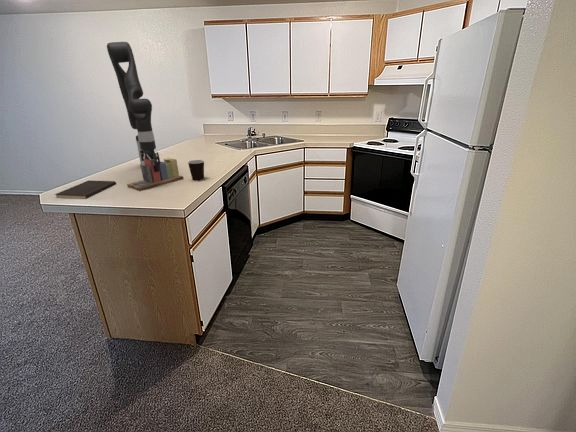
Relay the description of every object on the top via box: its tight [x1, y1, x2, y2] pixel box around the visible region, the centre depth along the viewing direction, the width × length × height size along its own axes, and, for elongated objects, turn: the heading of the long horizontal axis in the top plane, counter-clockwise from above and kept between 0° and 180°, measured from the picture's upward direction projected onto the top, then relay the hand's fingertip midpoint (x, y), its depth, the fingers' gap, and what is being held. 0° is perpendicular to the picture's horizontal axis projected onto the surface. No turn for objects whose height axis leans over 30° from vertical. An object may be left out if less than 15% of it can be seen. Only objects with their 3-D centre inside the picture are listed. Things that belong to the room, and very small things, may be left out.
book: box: [144, 158, 161, 183], centre depth 165 cm, size 6×4×12 cm, turn 53°
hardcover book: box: [54, 180, 117, 200], centre depth 157 cm, size 16×23×2 cm
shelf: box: [126, 157, 184, 192], centre depth 166 cm, size 12×26×11 cm, turn 143°
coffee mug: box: [187, 159, 205, 182], centre depth 174 cm, size 12×9×10 cm
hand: (152, 170), depth 165 cm, fingers open, 8 cm apart
